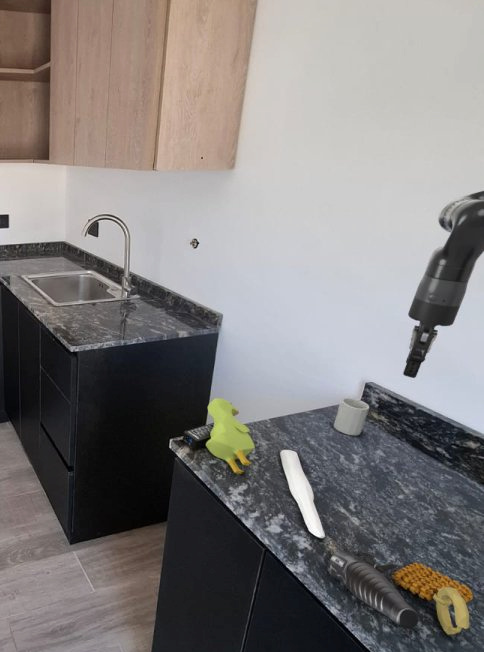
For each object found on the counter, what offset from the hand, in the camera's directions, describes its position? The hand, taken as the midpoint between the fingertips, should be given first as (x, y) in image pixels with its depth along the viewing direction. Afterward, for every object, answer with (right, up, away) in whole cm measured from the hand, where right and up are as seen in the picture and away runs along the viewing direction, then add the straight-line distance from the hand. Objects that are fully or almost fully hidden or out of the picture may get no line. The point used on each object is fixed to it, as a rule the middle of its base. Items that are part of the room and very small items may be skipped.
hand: (410, 370), depth 103 cm
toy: (-35, -22, 0) cm, 41 cm away
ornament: (-17, -31, -22) cm, 42 cm away
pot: (-1, -17, +20) cm, 26 cm away
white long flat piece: (-26, -25, -4) cm, 36 cm away
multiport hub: (-40, -18, +12) cm, 46 cm away
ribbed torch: (-24, -33, -26) cm, 48 cm away
